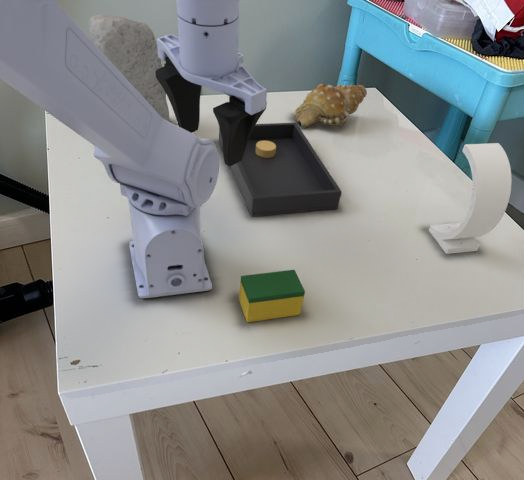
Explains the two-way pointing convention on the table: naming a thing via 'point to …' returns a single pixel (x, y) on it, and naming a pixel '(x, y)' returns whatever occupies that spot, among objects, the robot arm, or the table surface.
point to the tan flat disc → (265, 149)
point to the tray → (284, 174)
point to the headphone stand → (479, 199)
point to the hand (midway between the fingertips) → (211, 146)
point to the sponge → (271, 295)
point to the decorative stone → (131, 55)
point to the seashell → (330, 104)
